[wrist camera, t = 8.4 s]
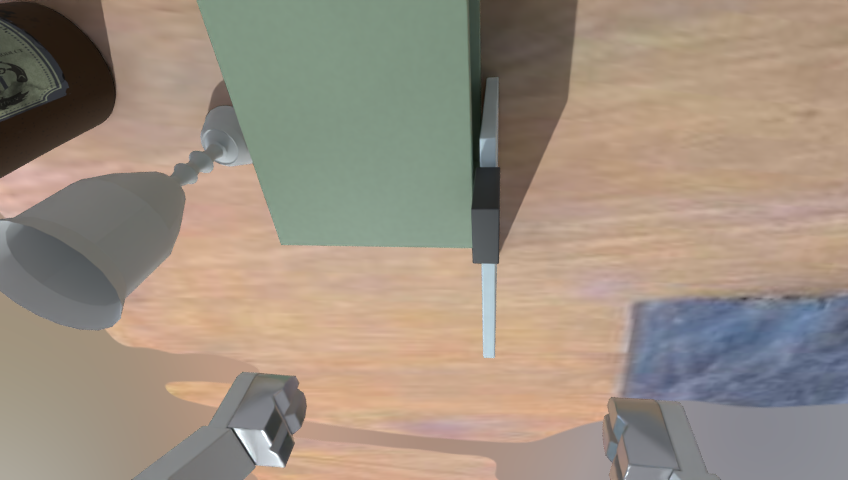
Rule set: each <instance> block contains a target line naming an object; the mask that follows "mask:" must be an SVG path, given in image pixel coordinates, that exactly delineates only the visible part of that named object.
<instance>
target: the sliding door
mask: <svg viewBox="0 0 848 480" xmlns="http://www.w3.org/2000/svg"><path fill="white" fill-rule="evenodd" d="M498 97H499V78H498V77H490V78H487V80H486V89H485V97H484V106H483V115H482V123H481V132H480V167H477V168H476V172H475V180H474V189H473V197H472V206H471V222H472V254H473V263H479V264H482V314H483V357H484V358H495V330H496V284H497V264H498V263H499V226H500V167H498Z"/></svg>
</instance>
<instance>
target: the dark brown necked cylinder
mask: <svg viewBox="0 0 848 480" xmlns="http://www.w3.org/2000/svg"><path fill="white" fill-rule="evenodd" d="M114 103H115V90H114V84H113V80H112V77H111V74H110V72H109V69H108V67H107V65H106V63H105V61H104V59H103V58H102V56H101V54H100V53H99V51H98V50H97V48H96V47H95V46H94V44H93V43H92V42H91V41H90V40H89V39H88V37H87V36H86V35H85V34H84V33H83V32H82V31H81V30H80V29H79V28H77V27H76V26H75V25H74V24H73V23H72V22H70V21H69V20H68V19H66V18H65V17H63V16H62V15H60V14H59V13H57V12H55V11H53V10H51V9H49V8H47V7H45V6H42V5H39V4H35V3H30V2H10V3H1V4H0V178H2V177H4V176H5V175H7V174H9V173H11V172H12V171H14V170H16V169H18V168H20V167H21V166H23V165H25V164H27V163H29V162H30V161H32V160H34V159H36V158H38V157H39V156H41V155H43V154H45V153H47V152H48V151H50V150H52V149H54V148H56V147H58V146H60V145H61V144H63V143H65V142H67V141H69V140H71V139H73V138H75V137H77V136H79V135H80V134H82V133H84V132H86V131H88V130H90V129H92V128H94V127H96V126H97V125H99V124H101V123H102V122H104V121H105V120H106V119H107V118H108V117H109V116H110V114H111V113H112V110H113V108H114Z"/></svg>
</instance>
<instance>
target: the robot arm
mask: <svg viewBox="0 0 848 480" xmlns="http://www.w3.org/2000/svg"><path fill="white" fill-rule="evenodd" d="M298 385H299V382H298V380H297V378H296V376H290V375H277V374H264V373H254V372H242V373H241V374H240V375H238V376H237V377H236V379H235V381H234V382H233V384H232V386H231V388H230V389H229V391H228V393H227V394H226V396H225V398H224V399H223V401H222V403H221V404H220V406H219V408H218V410H217V411H216V413H215V415H214V416H213V418H212V420H211V421H210V423H209V425H208V426H202V427H201V428H199V429H198V430H197V431H195V432H194V433H193V434H191V435H190V436H189V437H188V438H186V439H185V440H183V441H182V442H181V443H179V444H178V445H177V446H176V447H174V448H173V449H171V450H170V451H169V452H167V453H166V454H165V455H164V456H162V457H161V458H160V459H158V460H157V461H156V462H154V463H153V464H152V465H150V466H149V467H148V468H146V469H145V470H144V471H142V472H141V473H140V474H138V475H137V476H136V477H134V478H133V479H132V480H244V479H245V478H246V477H247V476H248V475H249V474H250V473H251V472H252V471H253V470H254V468H255V467H256V466H255V465H259V466H272V467H285V466H286V464H287V461H288V459H289V456H290V454H291V451H292V449H293V446H294V444H295V442H294V438H293V434H294V433H295V432H296V431H298V430H299V429H300V428H301V426H302V423H303V421H304V418H305V413H306V407H307V405H306V398H305V395H304V393H303V392H301V391H300V390H299V389H297V387H298ZM607 407H608V412H609V414H607V415H605V416H604V421H603V444H604V449H605V455H606V456H607V458H608V459H609V460H610V461H611V462H612V466H611V470H610V473H609V476H610V480H721V479H720V478H719V477H718V476H717V475H715V474H709V473H708V471H707V469H706V466H705V464H704V461H703V458H702V456H701V453H700V450H699V447H698V445H697V442H696V440H695V437H694V434H693V432H692V429H691V426H690V424H689V421H688V418H687V416H686V413H685V410H684V408H683V406H682V405H681V404H680V403H679V402H677V401H660V400H654V399H635V398H616V397H611V398H610V399H609V401H608V405H607Z"/></svg>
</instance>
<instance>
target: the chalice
mask: <svg viewBox="0 0 848 480" xmlns="http://www.w3.org/2000/svg"><path fill="white" fill-rule="evenodd" d="M200 137H201V143H202V146H203V148H204V150H205V151H203V152H201V151H193V152H191V153H190V155H189V160H190V161H189V163H186V164H183V163H179V164H176V166H175V167H174V172H173V174H172V175H171V176H168V175H166V174H164V173H160V172H136V173H116V174H108V175H103V176H98V177H92V178H87V179H81V180H79V181H77V182H75V183H73V184H70V185H69V186H67V187H65V188H64V189H62V190H60V191H58V192H57V193H55V194H53V195H52V196H50V197H48V198H46V199H45V200H43V201H41V202H40V203H38V204H36V205H35V206H33V207H31V208H29V209H28V210H26V211H24V212H23V213H21V214H19V215H17V216H16V217H14V218H6V219H0V291H1V292H2V293H3V294H5V295H6V296H7V297H9V298H10V299H11V300H13V301H14V302H15V303H17V304H19V305H20V306H22V307H24V308H26V309H27V310H29V311H31V312H33V313H34V314H36V315H38V316H40V317H43V318H45V319H48V320H50V321H53V322H55V323H58V324H60V325H64V326H68V327H72V328H76V329H82V330H101V329H105V328H109V327H112V326H113V325H114V324H115V323H116V322H117V321H118V320H119V319H120V318H121V314H122V310H123V306H124V301H125V298H126V297H127V296H128V295H129V294H130V293H132V292H133V291H134V290H135V289H136V288H137V287H138V286H139V285H140V284H141V283H142V282H143V281H144V280H145V279H146V278H147V277H148V276H149V275H150V274H151V273H152V272H153V271H154V270H155V269H156V268H157V267H158V266H159V265H160V264H161V263H162V262H163V261H164V260H165V259H166V258H167V257H168V256H169V255H170V254H171V252H172V249H173V247H174V244H175V241H176V239H177V236H178V234H179V231H180V226H181V222H182V216H183V211H184V205H185V200H186V198H185V193H184V191H183V189H182V187H181V186H183V185H186V184H194V183H196V181H197V179H198V177H197V175H198V174H199V172H203V173H209V172H211V171H212V170H213V167H214V166H213V162H214V161H215V162H217V163H219V164H222V165H226V166H237V165H244V164H252V163H253V162H252V159H251V156H250V153H249V150H248V147H247V144H246V141H245V139H244V136H243V133H242V130H241V127H240V124H239V121H238V118H237V116H236V113H235V110H234V107H231V106H218V107H216V108H214V109H212V110H211V111H210V112H209V113H208V115H207V116H206V120H205V123H204V125H203V129H202V131H201V136H200Z"/></svg>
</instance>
